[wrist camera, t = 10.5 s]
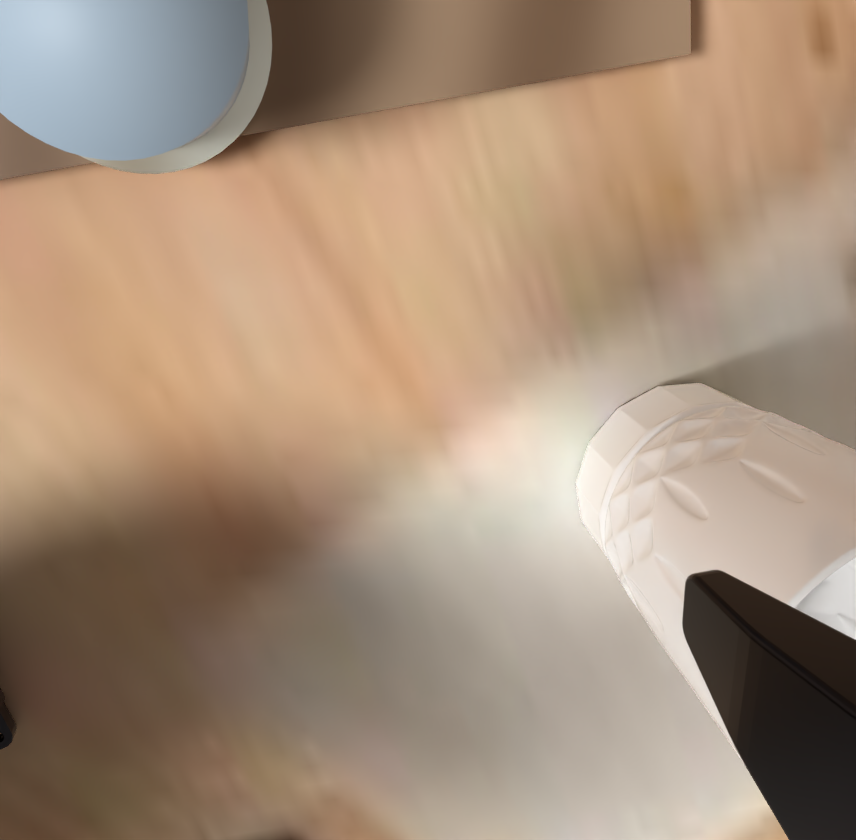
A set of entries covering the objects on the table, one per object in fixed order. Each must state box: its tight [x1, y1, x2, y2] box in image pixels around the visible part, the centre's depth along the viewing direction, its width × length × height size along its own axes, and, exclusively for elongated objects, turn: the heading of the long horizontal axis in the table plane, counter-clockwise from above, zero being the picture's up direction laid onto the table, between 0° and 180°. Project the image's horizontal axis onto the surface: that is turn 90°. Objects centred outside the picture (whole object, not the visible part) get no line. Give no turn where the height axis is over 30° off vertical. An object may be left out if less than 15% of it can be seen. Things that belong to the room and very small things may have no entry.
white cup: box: [575, 383, 856, 765], centre depth 21 cm, size 8×8×10 cm
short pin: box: [0, 0, 250, 161], centre depth 14 cm, size 5×5×4 cm
